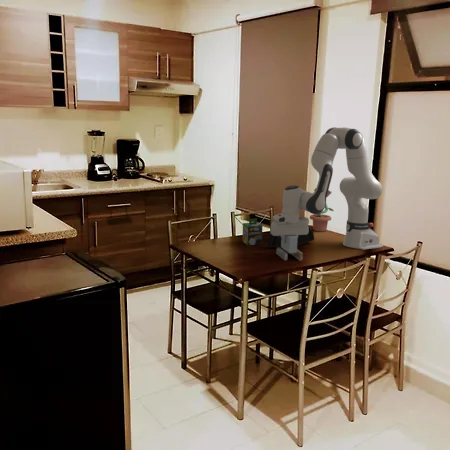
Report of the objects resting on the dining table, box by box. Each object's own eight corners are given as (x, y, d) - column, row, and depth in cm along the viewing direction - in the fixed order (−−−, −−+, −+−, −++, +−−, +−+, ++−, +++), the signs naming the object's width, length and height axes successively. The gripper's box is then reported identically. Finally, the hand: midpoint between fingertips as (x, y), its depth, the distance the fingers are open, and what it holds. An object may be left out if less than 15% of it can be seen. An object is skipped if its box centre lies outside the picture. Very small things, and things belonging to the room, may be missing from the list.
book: (287, 246, 252) (288, 232, 250) (296, 252, 240) (297, 237, 239) (280, 247, 251) (281, 232, 249) (289, 253, 239) (290, 238, 238)
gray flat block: (279, 253, 251) (279, 247, 251) (287, 260, 240) (287, 253, 239) (276, 253, 251) (276, 247, 250) (284, 260, 240) (284, 253, 239)
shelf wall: (290, 251, 255) (291, 244, 254) (302, 260, 240) (302, 253, 239) (288, 252, 255) (288, 244, 254) (299, 260, 240) (300, 253, 239)
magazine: (266, 234, 256) (310, 214, 267) (263, 232, 259) (306, 213, 270) (273, 261, 262) (315, 241, 273) (270, 260, 265) (311, 240, 276)
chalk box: (256, 240, 277) (257, 216, 274) (262, 244, 268) (263, 219, 265) (241, 241, 274) (242, 217, 271) (247, 245, 266) (248, 220, 262)
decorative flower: (331, 228, 312) (334, 183, 305) (333, 233, 298) (336, 186, 292) (308, 227, 314) (311, 182, 307) (309, 232, 300) (312, 185, 294)
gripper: (306, 215, 247) (304, 240, 250) (269, 216, 242) (268, 242, 245) (311, 217, 241) (309, 243, 244) (274, 219, 236) (272, 245, 239)
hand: (288, 243), depth 245 cm, fingers closed on book, 4 cm apart
